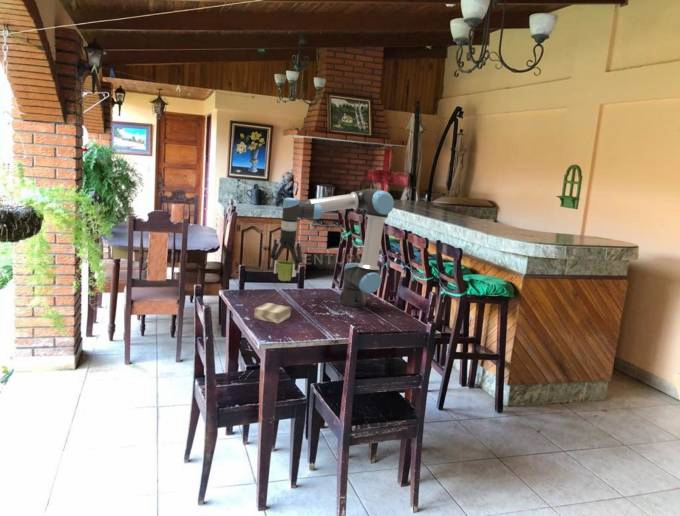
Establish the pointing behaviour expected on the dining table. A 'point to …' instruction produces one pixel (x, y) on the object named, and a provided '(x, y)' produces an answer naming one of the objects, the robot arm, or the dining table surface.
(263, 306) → the ash block
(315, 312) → the dining table surface
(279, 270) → the plant pot
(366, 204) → the robot arm
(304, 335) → the dining table surface
